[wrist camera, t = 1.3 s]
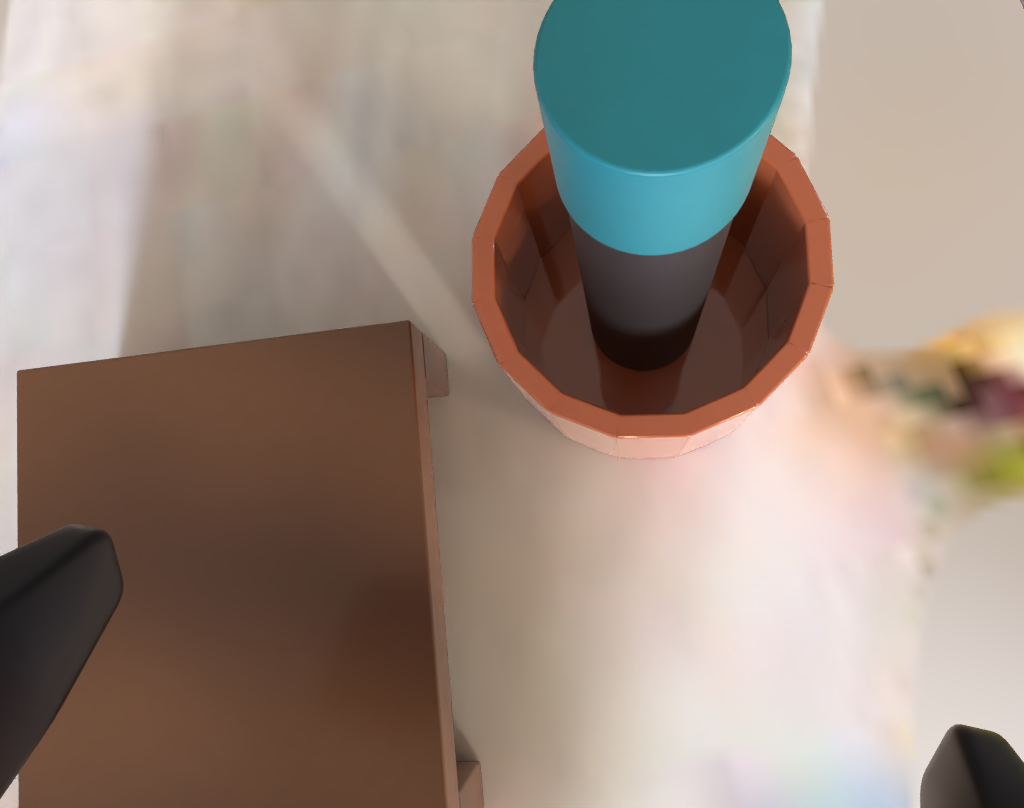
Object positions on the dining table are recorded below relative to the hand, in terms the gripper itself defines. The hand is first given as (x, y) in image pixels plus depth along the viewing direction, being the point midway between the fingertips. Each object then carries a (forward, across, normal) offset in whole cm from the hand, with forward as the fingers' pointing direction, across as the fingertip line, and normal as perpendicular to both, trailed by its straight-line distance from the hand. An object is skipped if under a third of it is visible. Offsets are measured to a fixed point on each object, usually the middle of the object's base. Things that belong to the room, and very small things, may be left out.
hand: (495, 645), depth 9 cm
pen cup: (+15, 0, +4) cm, 15 cm away
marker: (+15, 0, +3) cm, 15 cm away
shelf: (+9, +8, +10) cm, 16 cm away
